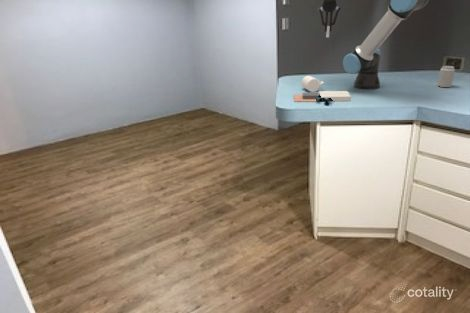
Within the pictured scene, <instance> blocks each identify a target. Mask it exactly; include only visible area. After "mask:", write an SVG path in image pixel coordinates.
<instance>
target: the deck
mask: <svg viewBox="0 0 470 313" xmlns="http://www.w3.org/2000/svg"><path fill="white" fill-rule="evenodd" d="M318 93H319V95H320V96H321V98H331V99H332V100H333V101H332V102H351V99H352V98H351V97H352V96H351V94H350V93H349V92H348V90H342V91H341V90H339V91H338V90H328V91H327V90H325V91H324V90H323V91H321V90H318Z"/></svg>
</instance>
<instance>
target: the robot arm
mask: <svg viewBox="0 0 470 313" xmlns="http://www.w3.org/2000/svg"><path fill="white" fill-rule="evenodd" d="M428 3H429V0H390V2H389V3H388V5H387V11H386V12H385V14H384V15H383V16H382V17H381V19H380V20H379V21H378V23H377V24H376V25H375V26H374V27H373V29H372V31H371V32H370V33H369V34H368V36H366V38H365V39H364V40H363V42H362V43H361V44H360V45H357V46H356V47H355V48H354V49H353V50H352V51H351V52H350V53H348V54H346V55H345V56H344V58H343V60H342V64H343V69H344V70H345V72H346V73H347V74H351V75H356V78H355V80H354V81H353V82H354V83H353V87H354V88H357V89H361V90H376V89H378V88H380V84H381V82H380V77H379V67H380V61H381V50H380V49H379V48H380V47H381V46H382V45H383V43H384V42H385V41H386V40H387V39H388V37H389V36H390V35H391V34H392V32H394V30H395V29H396V28H397V27H398V25H399V24H400V23H401V21H405V20H407V19H408V18H409V17H410V16H411V14H412V13H413V12H415V11H418V10H421V9H423V8H424V7H425V6H426V5H427V4H428ZM340 10H341V7H339V6H338V4H337V0H323V1H322V5H321V7H319V8H317V11H319V14H320V21H321V25H322V26H324V32H325V34H326V35H325V37H326V38H330V32H332V26H334V25H335V24H336V22H337V18H338V16H339V15H338V14H339V12H340ZM323 11H324V12H325V17H324V14H323ZM334 11H335V13H333V12H334ZM333 14H334V17H333ZM328 19H329V20H328ZM328 21H329V22H328ZM328 23H329V25H328Z"/></svg>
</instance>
